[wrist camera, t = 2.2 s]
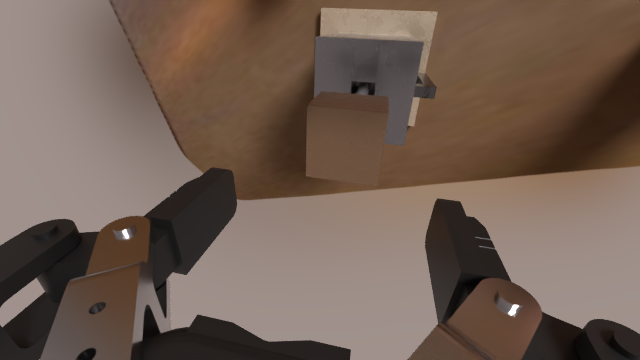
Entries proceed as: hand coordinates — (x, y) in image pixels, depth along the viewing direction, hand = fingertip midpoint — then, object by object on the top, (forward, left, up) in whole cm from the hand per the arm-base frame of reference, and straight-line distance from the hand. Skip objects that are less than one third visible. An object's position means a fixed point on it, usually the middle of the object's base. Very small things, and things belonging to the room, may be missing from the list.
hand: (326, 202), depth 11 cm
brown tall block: (0, 0, -27) cm, 27 cm away
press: (0, 0, -39) cm, 39 cm away
